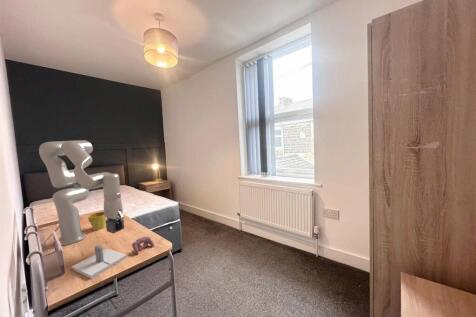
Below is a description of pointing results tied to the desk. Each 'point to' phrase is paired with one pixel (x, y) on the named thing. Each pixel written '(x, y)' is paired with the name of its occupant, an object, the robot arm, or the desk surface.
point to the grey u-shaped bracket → (113, 225)
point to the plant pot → (97, 220)
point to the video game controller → (137, 243)
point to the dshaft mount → (98, 262)
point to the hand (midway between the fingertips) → (115, 228)
